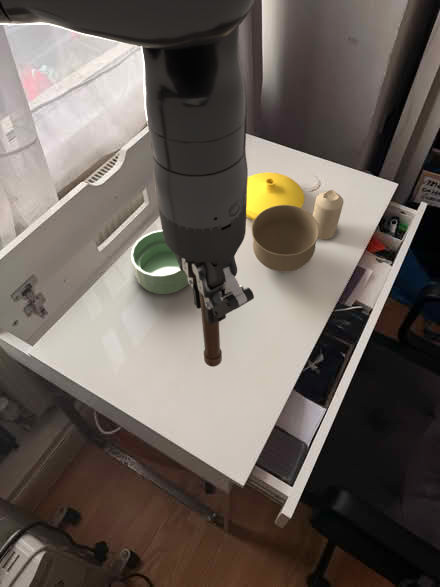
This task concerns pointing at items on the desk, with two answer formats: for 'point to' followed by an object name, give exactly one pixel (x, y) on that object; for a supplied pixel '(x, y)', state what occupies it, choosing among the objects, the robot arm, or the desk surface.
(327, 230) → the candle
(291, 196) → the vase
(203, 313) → the stirring stick
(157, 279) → the mixing bowl
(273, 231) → the bowl
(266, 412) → the desk surface
